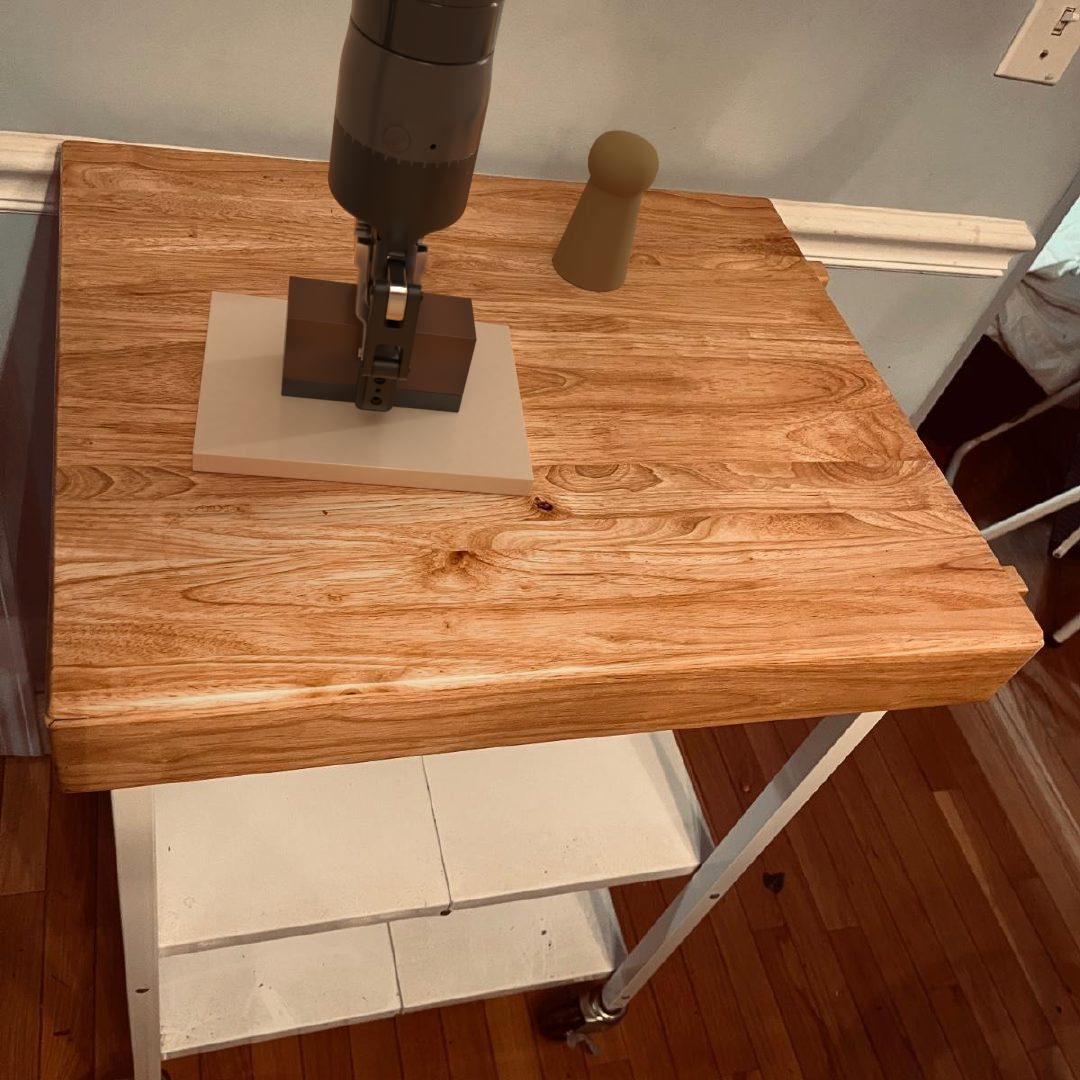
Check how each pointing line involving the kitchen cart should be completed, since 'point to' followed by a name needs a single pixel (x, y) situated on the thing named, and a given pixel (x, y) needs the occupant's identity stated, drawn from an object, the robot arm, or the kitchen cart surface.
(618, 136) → the olive brown pawn
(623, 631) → the kitchen cart surface
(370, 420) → the tile
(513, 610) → the kitchen cart surface
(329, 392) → the dark brown block
